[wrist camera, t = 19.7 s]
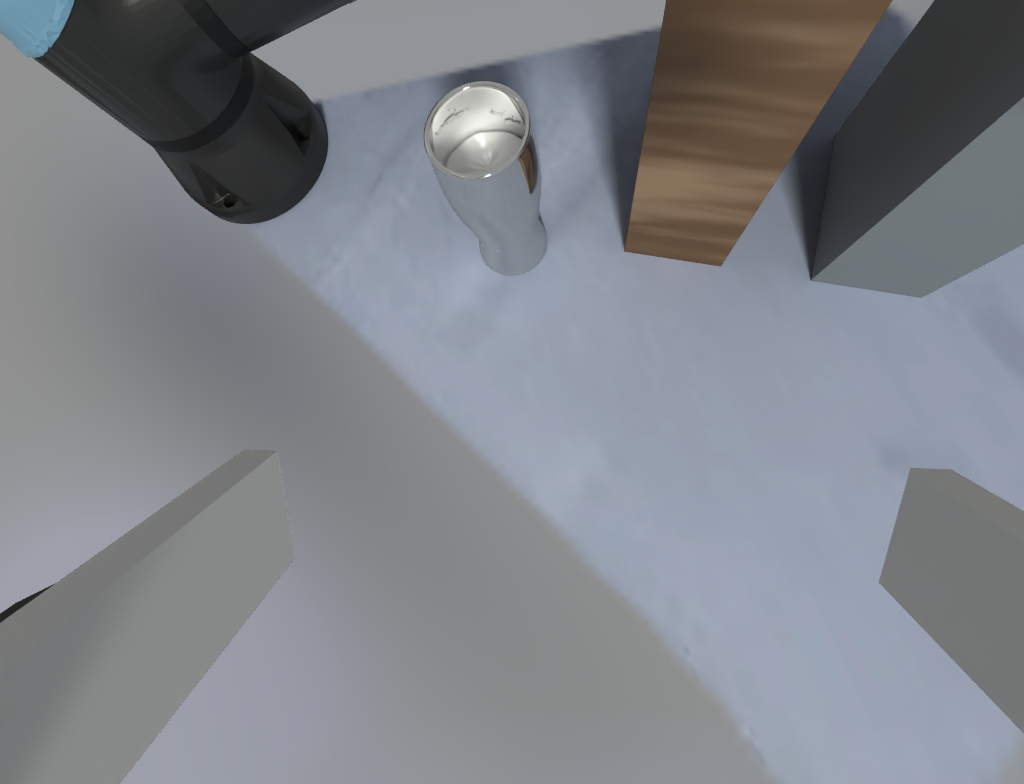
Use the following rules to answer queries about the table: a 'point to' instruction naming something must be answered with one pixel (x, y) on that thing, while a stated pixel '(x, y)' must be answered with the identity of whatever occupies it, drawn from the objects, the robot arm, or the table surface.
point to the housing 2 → (931, 157)
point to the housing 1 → (733, 113)
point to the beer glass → (490, 171)
